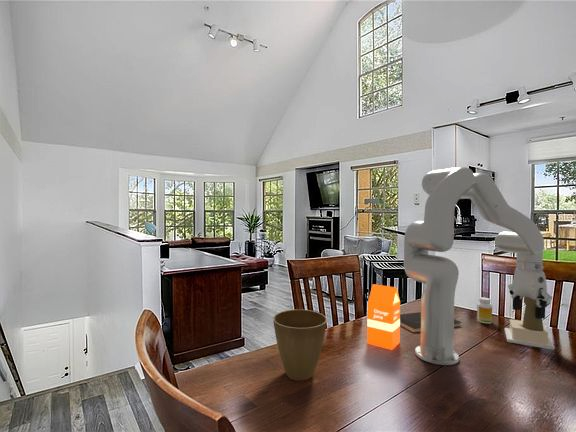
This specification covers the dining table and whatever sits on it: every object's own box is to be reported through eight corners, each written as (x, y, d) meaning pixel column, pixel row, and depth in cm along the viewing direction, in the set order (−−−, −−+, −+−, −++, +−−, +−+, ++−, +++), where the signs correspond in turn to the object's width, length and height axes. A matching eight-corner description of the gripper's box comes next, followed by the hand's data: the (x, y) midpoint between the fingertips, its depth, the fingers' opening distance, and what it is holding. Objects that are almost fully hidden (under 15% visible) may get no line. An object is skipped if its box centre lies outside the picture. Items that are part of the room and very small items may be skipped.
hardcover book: (461, 327, 131) (461, 322, 131) (413, 334, 123) (413, 328, 123) (432, 315, 146) (432, 310, 146) (388, 320, 139) (388, 315, 139)
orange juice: (392, 350, 108) (392, 289, 107) (366, 343, 113) (367, 285, 113) (400, 342, 114) (400, 285, 114) (375, 336, 119) (376, 281, 119)
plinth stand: (554, 349, 109) (554, 335, 109) (507, 341, 115) (507, 327, 115) (546, 336, 120) (547, 323, 120) (504, 330, 127) (504, 317, 126)
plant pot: (266, 366, 96) (266, 312, 95) (312, 359, 101) (312, 307, 101) (283, 393, 82) (283, 330, 81) (336, 383, 87) (336, 323, 87)
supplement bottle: (495, 324, 134) (495, 300, 133) (481, 323, 134) (482, 300, 134) (487, 319, 139) (487, 296, 139) (474, 319, 139) (474, 296, 139)
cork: (538, 325, 118) (537, 294, 118) (547, 331, 112) (547, 298, 112) (519, 324, 119) (518, 293, 119) (527, 329, 113) (527, 297, 113)
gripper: (561, 270, 109) (560, 321, 109) (518, 262, 126) (517, 306, 127) (541, 270, 108) (540, 322, 108) (500, 262, 125) (500, 307, 126)
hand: (528, 313), depth 118 cm, fingers open, 9 cm apart
